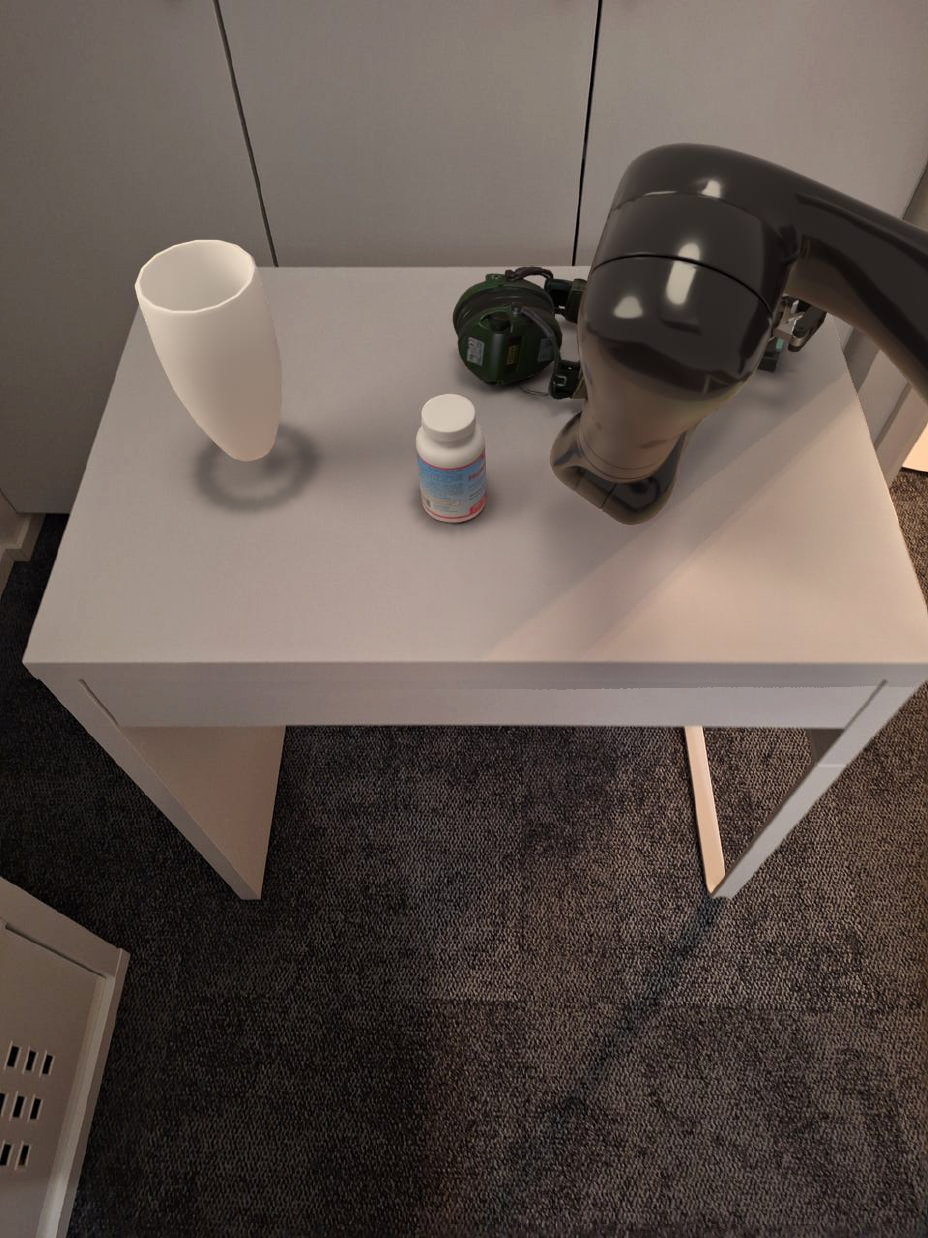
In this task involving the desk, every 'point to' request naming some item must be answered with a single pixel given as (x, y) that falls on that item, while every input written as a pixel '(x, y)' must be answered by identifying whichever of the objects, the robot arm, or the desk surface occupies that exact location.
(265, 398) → the cup
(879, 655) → the desk surface
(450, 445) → the pill bottle
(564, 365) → the headphones
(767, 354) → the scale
